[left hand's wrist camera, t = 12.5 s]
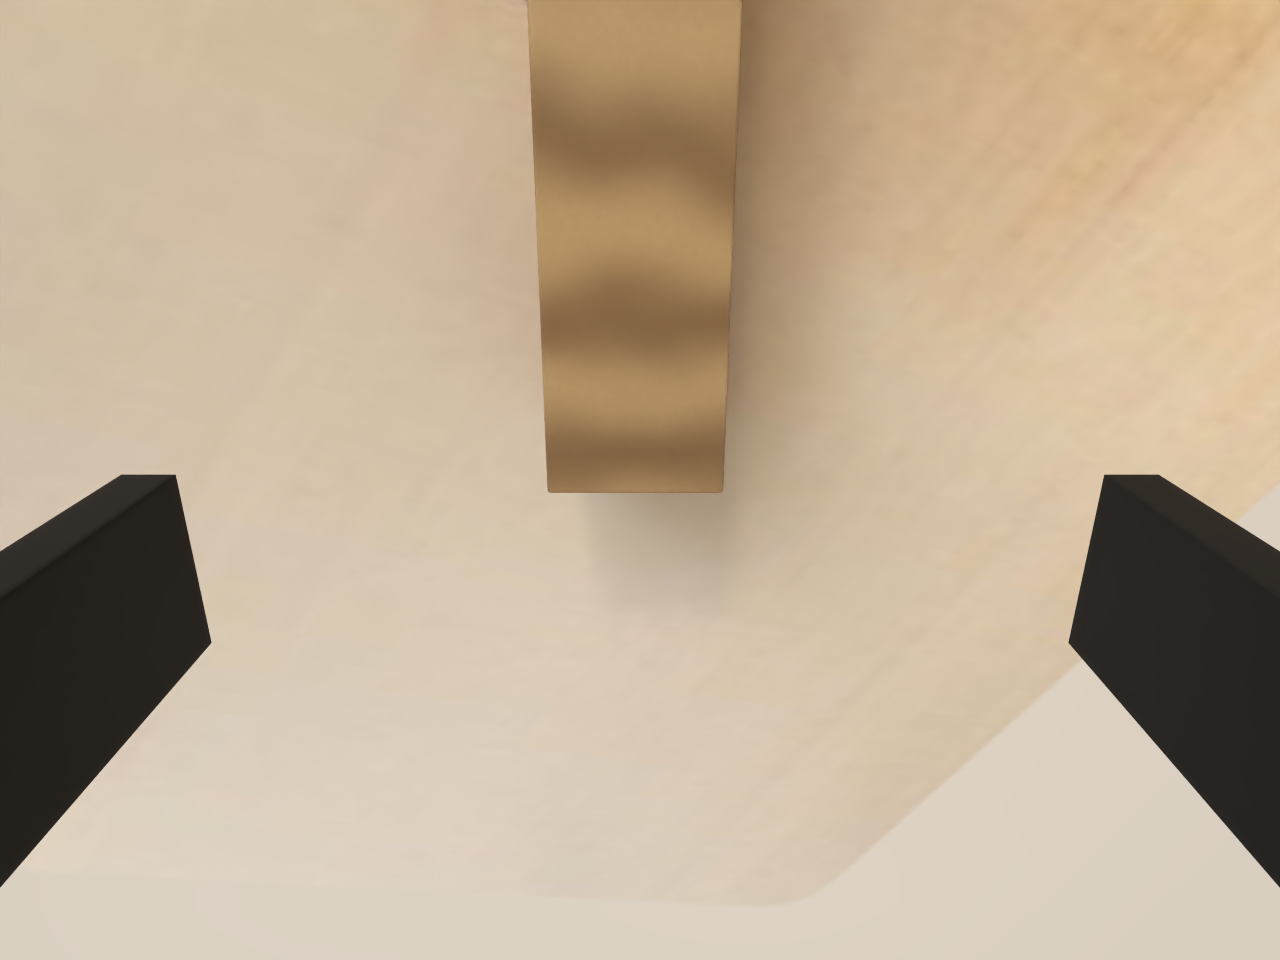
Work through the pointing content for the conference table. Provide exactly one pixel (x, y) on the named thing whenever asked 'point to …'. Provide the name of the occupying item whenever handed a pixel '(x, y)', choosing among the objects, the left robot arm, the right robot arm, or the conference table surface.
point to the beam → (635, 238)
